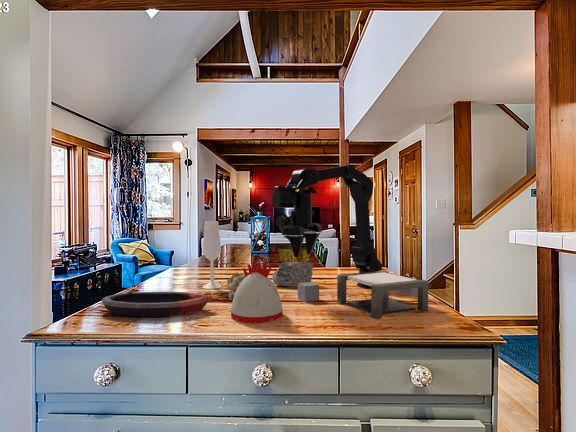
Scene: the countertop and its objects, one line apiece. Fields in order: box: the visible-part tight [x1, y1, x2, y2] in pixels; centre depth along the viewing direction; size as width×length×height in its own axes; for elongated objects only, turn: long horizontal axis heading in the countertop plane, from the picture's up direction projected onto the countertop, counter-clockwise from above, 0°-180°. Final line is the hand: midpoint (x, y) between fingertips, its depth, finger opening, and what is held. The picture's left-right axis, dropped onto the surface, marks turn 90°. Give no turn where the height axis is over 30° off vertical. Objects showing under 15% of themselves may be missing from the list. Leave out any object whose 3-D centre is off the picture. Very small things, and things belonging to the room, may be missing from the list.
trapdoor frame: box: [336, 270, 429, 320], centre depth 115 cm, size 18×19×8 cm
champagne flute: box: [201, 220, 222, 290], centre depth 143 cm, size 7×7×24 cm
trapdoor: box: [347, 272, 418, 297], centre depth 115 cm, size 18×14×5 cm
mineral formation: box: [226, 271, 246, 302], centre depth 128 cm, size 8×13×15 cm
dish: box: [101, 290, 213, 318], centre depth 110 cm, size 16×31×5 cm, turn 87°
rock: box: [271, 261, 314, 288], centre depth 146 cm, size 16×8×10 cm, turn 84°
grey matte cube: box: [297, 281, 320, 303], centre depth 124 cm, size 5×5×5 cm
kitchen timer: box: [230, 259, 283, 324], centre depth 106 cm, size 14×14×15 cm
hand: (302, 255), depth 127 cm, fingers open, 9 cm apart
